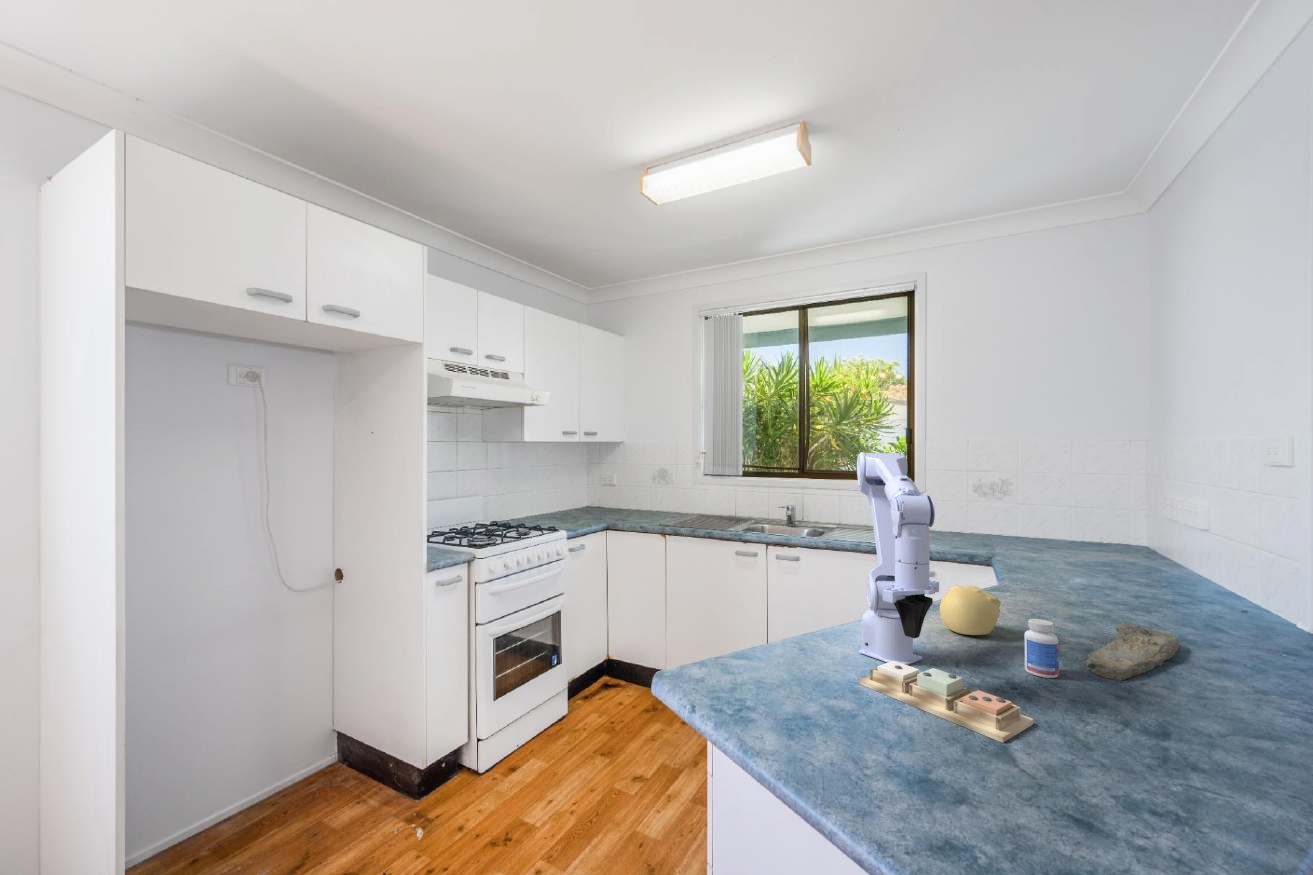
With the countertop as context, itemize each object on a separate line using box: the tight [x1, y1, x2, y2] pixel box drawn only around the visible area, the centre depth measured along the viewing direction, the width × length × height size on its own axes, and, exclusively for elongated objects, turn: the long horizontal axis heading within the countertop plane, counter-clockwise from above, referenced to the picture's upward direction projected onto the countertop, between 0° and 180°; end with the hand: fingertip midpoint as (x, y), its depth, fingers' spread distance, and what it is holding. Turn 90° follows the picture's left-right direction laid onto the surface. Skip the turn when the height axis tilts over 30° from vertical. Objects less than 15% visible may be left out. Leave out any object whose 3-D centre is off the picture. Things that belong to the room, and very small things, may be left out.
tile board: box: [858, 666, 1034, 744], centre depth 93 cm, size 24×10×3 cm, turn 34°
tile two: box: [917, 667, 963, 697], centre depth 93 cm, size 5×5×3 cm
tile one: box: [876, 661, 920, 681], centre depth 99 cm, size 5×5×3 cm
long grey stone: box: [1085, 622, 1180, 681], centre depth 114 cm, size 35×5×10 cm
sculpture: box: [939, 584, 1001, 636], centre depth 130 cm, size 11×12×11 cm
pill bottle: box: [1023, 618, 1060, 679], centre depth 106 cm, size 6×5×10 cm
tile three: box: [962, 689, 1013, 716], centre depth 86 cm, size 5×5×3 cm
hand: (911, 636), depth 100 cm, fingers closed
